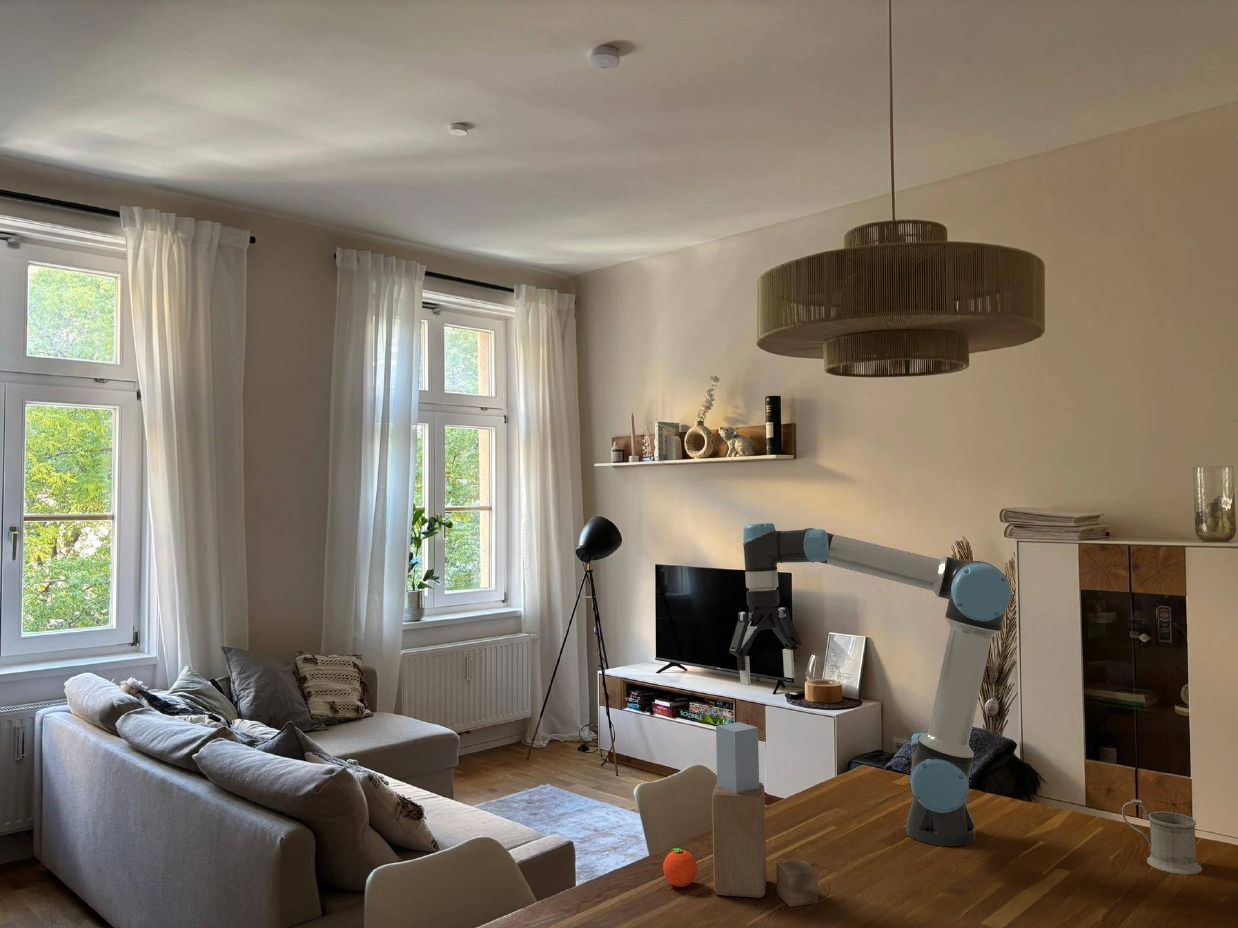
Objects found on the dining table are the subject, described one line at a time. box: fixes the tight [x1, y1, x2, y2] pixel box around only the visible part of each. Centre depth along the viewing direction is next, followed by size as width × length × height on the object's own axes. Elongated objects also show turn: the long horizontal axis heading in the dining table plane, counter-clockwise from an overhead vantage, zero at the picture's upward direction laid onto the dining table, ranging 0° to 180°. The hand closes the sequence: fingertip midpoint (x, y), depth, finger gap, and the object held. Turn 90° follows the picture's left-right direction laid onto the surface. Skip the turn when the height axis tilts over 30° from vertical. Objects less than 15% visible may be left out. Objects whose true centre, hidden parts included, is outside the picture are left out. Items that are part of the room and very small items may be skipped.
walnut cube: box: [775, 859, 819, 907], centre depth 177 cm, size 6×6×6 cm
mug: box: [1121, 799, 1203, 875], centre depth 192 cm, size 14×10×12 cm
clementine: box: [662, 847, 698, 888], centre depth 184 cm, size 8×7×7 cm
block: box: [711, 781, 768, 899], centre depth 182 cm, size 10×10×20 cm
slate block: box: [715, 721, 760, 793], centre depth 183 cm, size 6×6×12 cm
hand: (767, 681), depth 210 cm, fingers open, 13 cm apart
